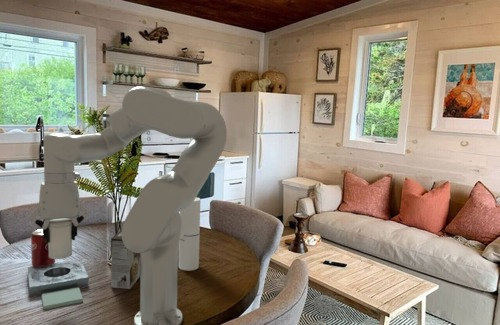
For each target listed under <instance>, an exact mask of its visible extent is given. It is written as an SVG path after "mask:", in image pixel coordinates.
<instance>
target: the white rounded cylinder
mask: <svg viewBox="0 0 500 325" xmlns="http://www.w3.org/2000/svg"><path fill="white" fill-rule="evenodd" d="M48 229H49V258H52V259H55V260H61V259H63V260H64V259H66V258H70V257H71V256H72V255H73V240H72V220H71V218H60V219H50V222H49V224H48Z"/></svg>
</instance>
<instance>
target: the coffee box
mask: <svg viewBox="0 0 500 325" xmlns="http://www.w3.org/2000/svg"><path fill="white" fill-rule="evenodd" d="M121 232H122V229H121V230H120V231H118V232H117V233H116V234H115V235H114V236H113V237H111V239H110V245H111V246H110V251H111V252H110V260H111V262H110V266H111V268H110V269H111V270H110V276H111V277H110V279H111V280H110V282H111V283H110V286H111V288H113V289H114V288H116V289H128V290H130V289H131V288H132V287H133V286H134V285H135V284H136V282H137V280H139V278H140V269H141V253H134V252H132V251H130V250H129V249H127V248H126V246H125V245H124V243H123V241H122V235H121Z"/></svg>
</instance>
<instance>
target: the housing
mask: <svg viewBox="0 0 500 325" xmlns="http://www.w3.org/2000/svg"><path fill="white" fill-rule="evenodd" d="M27 279H28V280H27V281H28V291H29V297H30V298H32V297H37V296H42V294H44V293H50V292H55V291H61V290H66V289H71V288H77V287H79V289H81V288H86V287H89V275H88V273H87V271H86V268H85V265H84V264H83V261H82V259H75V260H68V261H63V262H62V261H61V262H55V263H53V264H47V265H40V266H28V267H27Z"/></svg>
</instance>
